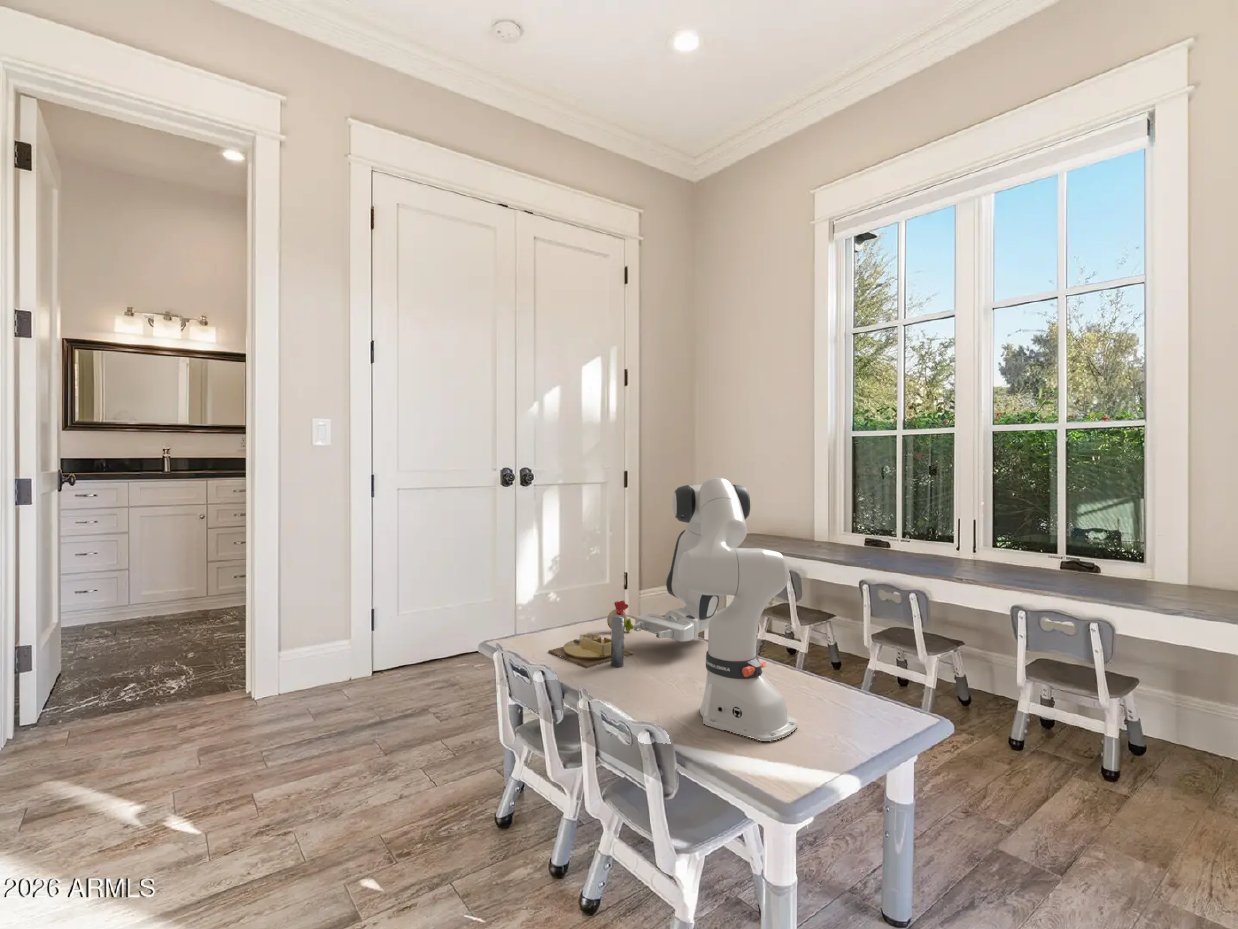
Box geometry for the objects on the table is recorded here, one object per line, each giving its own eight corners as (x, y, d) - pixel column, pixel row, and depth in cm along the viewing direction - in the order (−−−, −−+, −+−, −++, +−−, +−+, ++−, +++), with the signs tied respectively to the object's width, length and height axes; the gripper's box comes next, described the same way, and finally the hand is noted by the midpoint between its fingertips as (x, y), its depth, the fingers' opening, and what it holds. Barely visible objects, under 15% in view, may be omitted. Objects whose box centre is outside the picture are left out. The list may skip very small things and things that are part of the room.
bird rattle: (619, 641, 209) (640, 627, 213) (607, 612, 207) (629, 598, 211) (609, 636, 215) (630, 623, 219) (598, 608, 212) (620, 595, 216)
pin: (626, 665, 179) (626, 616, 179) (616, 668, 177) (617, 619, 176) (617, 662, 182) (618, 614, 181) (608, 665, 179) (609, 616, 179)
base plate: (632, 654, 189) (632, 651, 189) (586, 667, 177) (586, 665, 177) (593, 640, 202) (593, 638, 202) (548, 652, 190) (548, 649, 190)
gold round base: (629, 652, 188) (629, 637, 188) (588, 664, 177) (589, 648, 177) (592, 639, 201) (593, 626, 201) (552, 650, 190) (553, 635, 190)
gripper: (653, 607, 204) (622, 614, 195) (702, 620, 189) (671, 628, 180) (652, 626, 204) (622, 634, 195) (701, 641, 189) (671, 650, 180)
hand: (646, 631), depth 187 cm, fingers open, 8 cm apart
